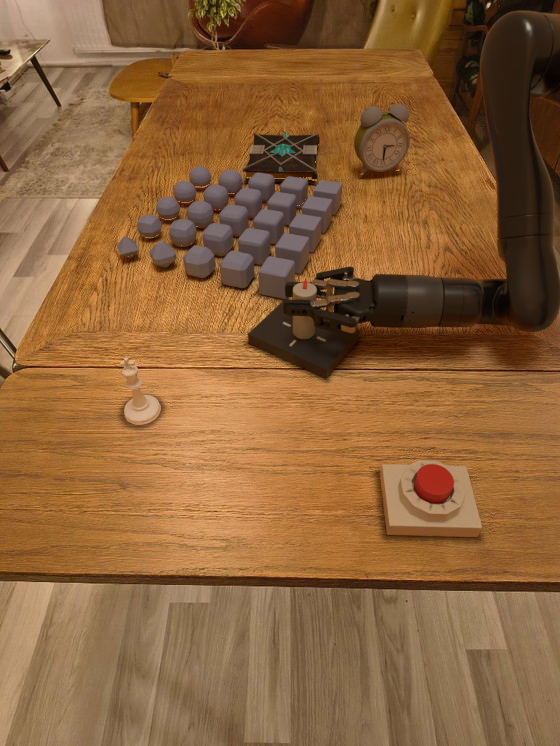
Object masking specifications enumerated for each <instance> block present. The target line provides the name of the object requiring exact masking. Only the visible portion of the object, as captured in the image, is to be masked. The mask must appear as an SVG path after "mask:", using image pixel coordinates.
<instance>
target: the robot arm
mask: <svg viewBox="0 0 560 746" xmlns="http://www.w3.org/2000/svg"><path fill="white" fill-rule="evenodd" d="M479 79H480V87H481V93H482V99H483V106H484V113H485V119H486V126H487V132H488V137H489V143H490V150H491V156H492V161H493V168H494V176H495V184H496V185H495V187H496V188H495V189H496V247H497V254H498V257H499V259H500V260H502V261H503V264H504V266H505V274H506V275H505V276H506V278H505V277H504V278H482V279H475V278H469V277H451V276H449V277H448V276H447V277H446V276H445V277H444V276H443V277H442V276H432V275H425V274H398V273H397V274H396V273H395V274H394V273H376V274H374V275H373V276H372V278H371V279H369V280H368V279H363V278H361V277H356V275H355V268H354V267H353V266H344V267H339V268H335V269H334V268H333V269H330V270H325V271H320V272H316V274H315V278H314V279H312V280H311V281H307V283H311V284H313V285H315V286H316V288H317V298H316V301H312V302H311V303H310V300H293V299H283V301H284V302H283V313H284V314H286V315H290V316H309V317H310V318H311V319H313V321H314V326H315V327H316V328H320V329H323V330H327V331H330V332H334V333H337V334H341V335H344V336H348V337H354V336H355V331H356V329H357V327H358V326H359V324H360V325H361V324H364V323H370V326H371V327H373V328H389V329H390V328H396V329H399V328H400V329H428V328H456V329H458V328H459V329H463V328H471V327H474V326H476V325H481V326H503V327H509V328H513V329H515V330H518V331H519V332H523V333H539V332H542V331H544V330H547V328H549V327H550V326H551V325H553V323H554V322H555V321H556V320H557V317H558V315H559V313H560V273H559V266H558V261H557V258H556V253H555V249H554V239H555V234H554V233H555V212H556V211H555V210H556V209H555V207H556V204H555V203H556V202H555V193H554V187H553V183H552V179H551V177H550V173H549V170H548V168H547V166H546V164H545V161H544V159H543V156H542V154H541V152H540V149H539V147H538V143H537V141H536V137H535V134H534V130H533V125H532V119H531V99H539V100H544V101H547V102H549V103H551V104H554V105H555V106H557V107H559V108H560V14H559V13H551V12H550V13H549V12H540V11H534V10H514V11H510V12H507V13H506V14H503V15H502V16H501V17H500V18H498V19H497V20H496V21H495V22H494V23H493V25H492V26H491V27H490V29H489V30H488V32H487V34H486V37H485V38H484V41H483V44H482V47H481V51H480V59H479ZM326 279H328V280H326ZM302 282H303V281H295V282H287V283H286V284H285V295H286V297H287V298H293V287H294V286H295V285H296V284H298V283H302ZM324 290H326V291H324ZM324 308H325V309H324ZM323 319H327V320H329V321H330V323H329V322H325V321H323Z"/></svg>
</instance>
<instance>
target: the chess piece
mask: <svg viewBox="0 0 560 746" xmlns="http://www.w3.org/2000/svg"><path fill="white" fill-rule="evenodd" d="M119 366H120V367H123V368H121V375H122V376H123V377H124V378H125V379H126V380H125V387H126V389H128V390H131V393H132V398H131V399H130V400H128V401H127V402H126V404H125V406H124V408H123V413H124V418H125V419H126V420H125V421H127V422H129V423H130V424H132V425H137V426H142V425H147V424H150V423H152V422H154V421H155V420H156V419H157V418H158V417H159V416H160V414H161V412H162V411H161V409H162V407H161V406H162V405H161V404H160V402H159V400H158V398H156V397H155V396H153V395H150V394H143V391H142V390H141V387H142V385H143V380H142V379H141V378H140V377H139V376H138V373H139V368H138V366H136V363H135V361H133V360H129V357H124V358H123V360H120V363H119Z"/></svg>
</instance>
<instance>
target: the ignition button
mask: <svg viewBox="0 0 560 746" xmlns="http://www.w3.org/2000/svg"><path fill="white" fill-rule="evenodd" d="M453 486H454V479H453V477H452V475H451V473H450V472H449V471H448V470H447V469H446V468H444V467H442V466H440V465H436V464H427V465H424V466H422V467H421V468H420V469H419V470H418V472H417V475H416V478H415V481H414V488H415V491H416V493H417V494H418V496H419V497H420V498H421V499H423V500H425V501H427V502H429V503H435V504H436V503H442V502H444V501H446V500H447V499H448V498H449V496H450V494H451V491H452V489H453Z"/></svg>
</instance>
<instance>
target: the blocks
mask: <svg viewBox="0 0 560 746" xmlns="http://www.w3.org/2000/svg"><path fill="white" fill-rule="evenodd" d="M188 178H189V181H188V180H180V181H178V182H176V184H175V185H174V187H173V189H172V190H173V192H172V194H173V197H171V196H169V195H168V196H164V197H161V198H160V199H159V200H157V202H156V204H155V206H156V207H155V212H156V214H157V216H156V215H155V214H154V213H152V214H151V213H150V214H145V215H142V216H140V217H139V218H138V221H137V227H136V230H137V232H138V233H139V235H140V234H141V235H143V236H145V237H155V236H156V235H158V234H159V235H158V236H156V237H155V238H158V237H160V235H161V232H162V226H163V223H162V222H161V220H163V221H165V222H172V221H173V222H172V223H171V224H170V227H169V239H170V241H171V243H172V244H174V243H175V244H174V246H177V247H180V248H186V247H190V246H191V248H190V249H189V250H188V251H187V252H186V253H185V254H184V255H183V256H182V261H183V266H184V271H185V272H186V274H187V275H189V276H191V277H194V278H201V279H206V278H207V277H208V276H209V275H211V274H212V272H213V271H214V270H215V269H216V258H215V256H218V257H223V259H222V260H221V261H220V262H219V272H220V281H221V282H222V284H223V285H224V286H228V287H233V288H238V289H242V290H244V289H245V288H246V287H248V285H249V284H250V283H251V282H252V280H253V279H254V277H255V276H256V274H255V273H256V272H255V265H259V266H260V268H259V269H258V273H257V275H258V289H259V290H258V291H259V295H263V296H267V297H271V298H272V297H273V298H275V299H276V298H277V299H281V300H282V299H283V300H287V298H288V297H286V295H285V284H286V283H287V282H296V274H298V275H301V274H302V272H303V271H304V269H305V268H306V266H307V264H308V262H309V260H310V253H314V252H315V250H316V248H317V247H318V246H319V243H320V241H321V239H322V238H321V237H322V234H325V233H326V231H327V230H328V228H329V226H330V225H331V223H332V219H333V218H332V216H336V215H337V213H338V210H339V209H340V207H341V205H342V198H343V183H342V182H338V181H330V180H324V179H319V181H318V182H317V185H315V187H314V188H313V190H312V195H308V194H309V183H308V180H307V179H305V178H298V177H291V176H288V177H286V179H285V180H284V181H283V182H281V183H280V185H279V191H276V183H275V180H274V177H273V176H272V175H271V174H265V173H255V174H254V175H253V176H252V177H251V179H250V180H249V182H247V185H248V187H243V185H244V184H243V183H244V182H243V177H242V174H241V173H240V172H239V171H238V170H236V169H235V170H234V169H225V170H223V171H222V172H221V173H220V175H219V176H218V184H211V183H212V175H211V172H210V170H209V168H206V166H202V165H198V166H195V167H193V168H192V169H191V170H190V172H189V177H188ZM210 182H211V183H210ZM208 184H210V185H209V186H207V187H205V188H195V186H201V187H202V186H206V185H208ZM197 190H204V192H203V200H196V197H197ZM237 192H238V193H237ZM228 193H235V194H228ZM229 196H234V197H233V198H234V200H233V201H234V204H232V203H231V204H229V199H230V197H229ZM307 196H308V197H307ZM305 199H306V200H305ZM192 200H194V201H192ZM178 201H180V202H190V201H192V202H190V203H179V202H178ZM303 202H304V203H303ZM340 202H341V203H340ZM263 203H266V206H267V207H266V208H263ZM302 203H303V204H302ZM180 204H181V205H185V206H187V205H189V206H188V207H187V209H186V210H187V211H186V217H187V219H186V218H181V219H177V218H178V217H179V215H180V213H181V205H180ZM301 204H302V205H301ZM297 205H300V206H297ZM338 205H339V206H338ZM224 207H225V208H224ZM337 207H338V208H337ZM215 209H216V210H215ZM219 209H220V210H219ZM297 209H298V210H299V209H300V210H301V213H297ZM215 212H219V215H218V221H219V222H214V221H213V220H214V217H215V215H214V213H215ZM158 215H159V216H158ZM177 216H178V217H177ZM160 217H161V218H160ZM175 217H176V218H175ZM162 218H164V219H172V218H175V219H172V220H164V219H162ZM160 219H161V220H160ZM250 219H253V220H252V225H253V227H249V225H250V221H249V220H250ZM196 226H198V227H196ZM285 226H286V227H288V232H285ZM197 229H204V230H203V233H202V244H203V246H202V245H197V244H196V245H193V244H194V243H195V242H196V239H197V233H198V231H197ZM160 231H161V232H160ZM141 235H140V236H141ZM143 236H142V237H143ZM145 237H143V238H144V239H146V240H150V239H151V238H145ZM234 237H238V239H237V249H238V251H236V250H232V249H233V246H234ZM191 243H192V244H191ZM181 245H182V246H181ZM192 245H193V246H192ZM271 245H275V246H274V256H271V255H270V254H271V251H272V249H271ZM116 248H117V250H118V252H119V254H120V255H121V256H123V257H125V258H126V259H127V258H128V259H130V260H132V259H133V257H134V256H135V255H136V254H137V253H138V252H139V251H140V248H139V246H138V243H137V242H136V240H134V239H132V238H130V237H128V236H126V235H124V236H123V237H122V238H121V239H120V240H119V242H118V243H117V244H116ZM148 253H149V257H150V258H151V261H152V262H153V265H156V266H158V267H160V268H163V269H167V268H168V267H169V266H171V265H172V263H174V262H175V260H176V259H177V253H176V251H175V249H174V248H173V246H172V245H171V244H169V243H167V242H165V241H162V240H158V241H157V242H156V243H155V244H154V246H152V248H151V249H150V250H149V251H148ZM131 255H133V256H131ZM127 256H129V257H127Z"/></svg>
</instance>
